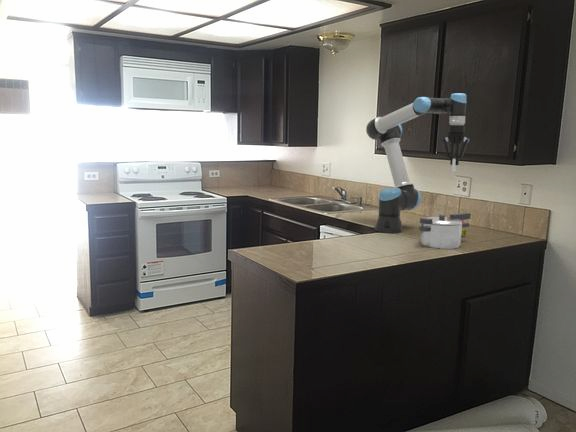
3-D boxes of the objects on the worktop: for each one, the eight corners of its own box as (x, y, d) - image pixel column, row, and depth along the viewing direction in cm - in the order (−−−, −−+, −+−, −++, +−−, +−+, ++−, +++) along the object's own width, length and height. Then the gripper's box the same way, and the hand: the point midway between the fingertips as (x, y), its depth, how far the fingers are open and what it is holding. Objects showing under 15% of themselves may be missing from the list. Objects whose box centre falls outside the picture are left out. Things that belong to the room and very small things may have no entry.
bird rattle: (449, 240, 264) (465, 235, 258) (443, 220, 265) (458, 215, 259) (454, 238, 269) (470, 234, 263) (447, 219, 270) (463, 214, 264)
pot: (408, 243, 246) (410, 221, 244) (452, 238, 259) (454, 217, 257) (434, 250, 230) (436, 227, 229) (480, 245, 243) (481, 222, 242)
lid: (438, 227, 228) (438, 219, 227) (409, 221, 243) (409, 214, 243) (483, 221, 244) (484, 214, 243) (453, 216, 259) (454, 209, 259)
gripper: (441, 124, 252) (439, 171, 256) (468, 124, 245) (465, 172, 249) (445, 125, 258) (443, 170, 262) (472, 125, 251) (468, 171, 255)
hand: (453, 171), depth 255 cm, fingers closed
